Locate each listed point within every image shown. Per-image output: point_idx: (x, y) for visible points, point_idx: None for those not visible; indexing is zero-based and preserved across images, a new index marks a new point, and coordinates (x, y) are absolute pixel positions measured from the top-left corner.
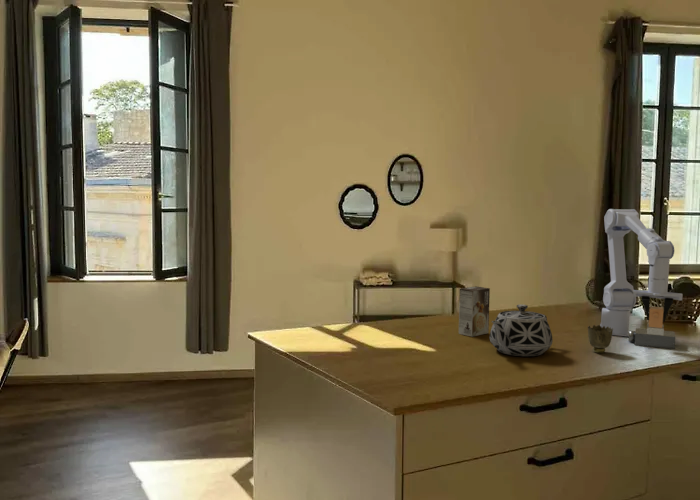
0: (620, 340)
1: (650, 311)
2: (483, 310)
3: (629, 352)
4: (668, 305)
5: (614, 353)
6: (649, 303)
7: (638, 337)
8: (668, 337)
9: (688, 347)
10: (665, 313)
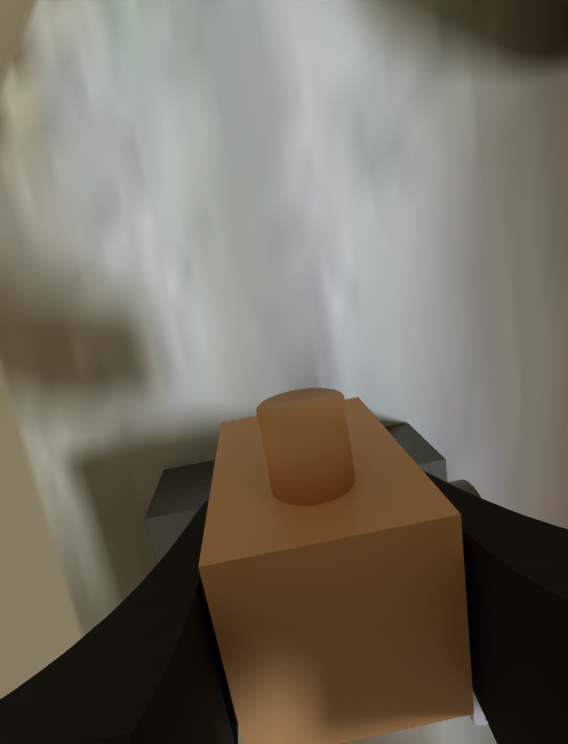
0: (500, 500)
1: (419, 484)
2: None
3: (410, 165)
4: (65, 683)
5: (505, 51)
6: (545, 588)
7: (407, 450)
8: (196, 504)
9: (102, 576)
10: (178, 559)
